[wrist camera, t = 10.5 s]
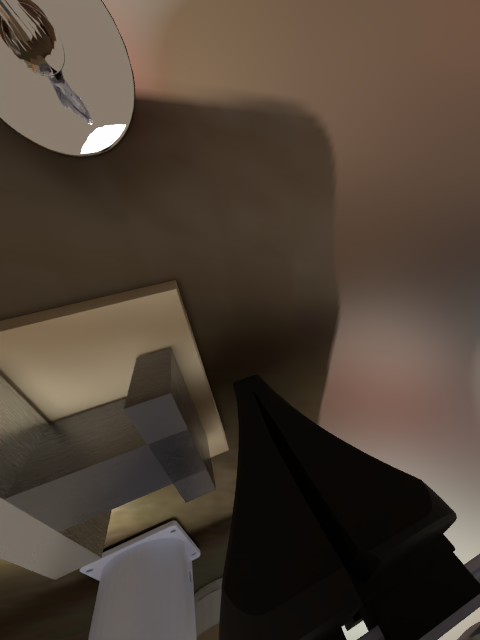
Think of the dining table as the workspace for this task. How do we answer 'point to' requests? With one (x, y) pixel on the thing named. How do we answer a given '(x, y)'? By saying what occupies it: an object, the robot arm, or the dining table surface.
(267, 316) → the dining table surface
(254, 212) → the dining table surface
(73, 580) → the dining table surface
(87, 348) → the vise bed
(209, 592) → the coffee cup
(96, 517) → the moving jaw
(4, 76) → the wineglass
